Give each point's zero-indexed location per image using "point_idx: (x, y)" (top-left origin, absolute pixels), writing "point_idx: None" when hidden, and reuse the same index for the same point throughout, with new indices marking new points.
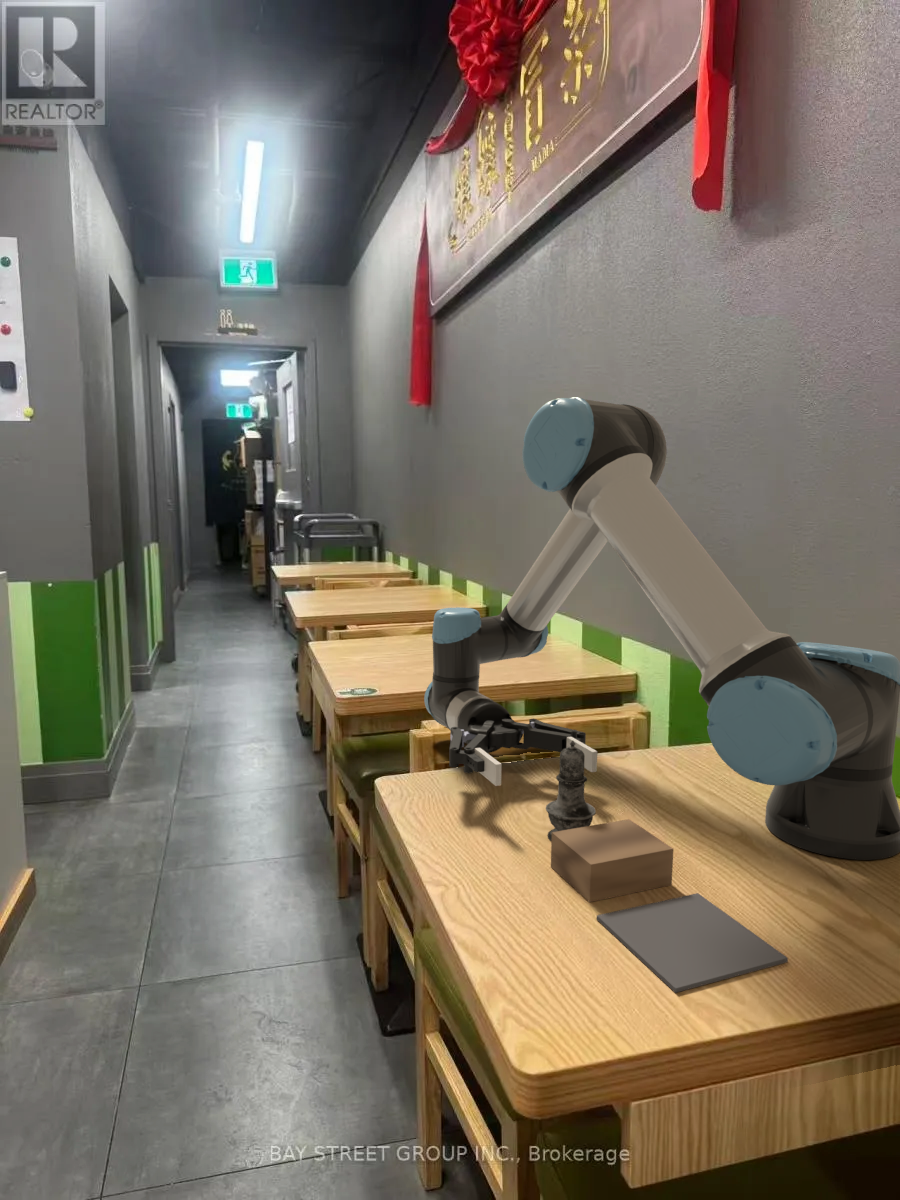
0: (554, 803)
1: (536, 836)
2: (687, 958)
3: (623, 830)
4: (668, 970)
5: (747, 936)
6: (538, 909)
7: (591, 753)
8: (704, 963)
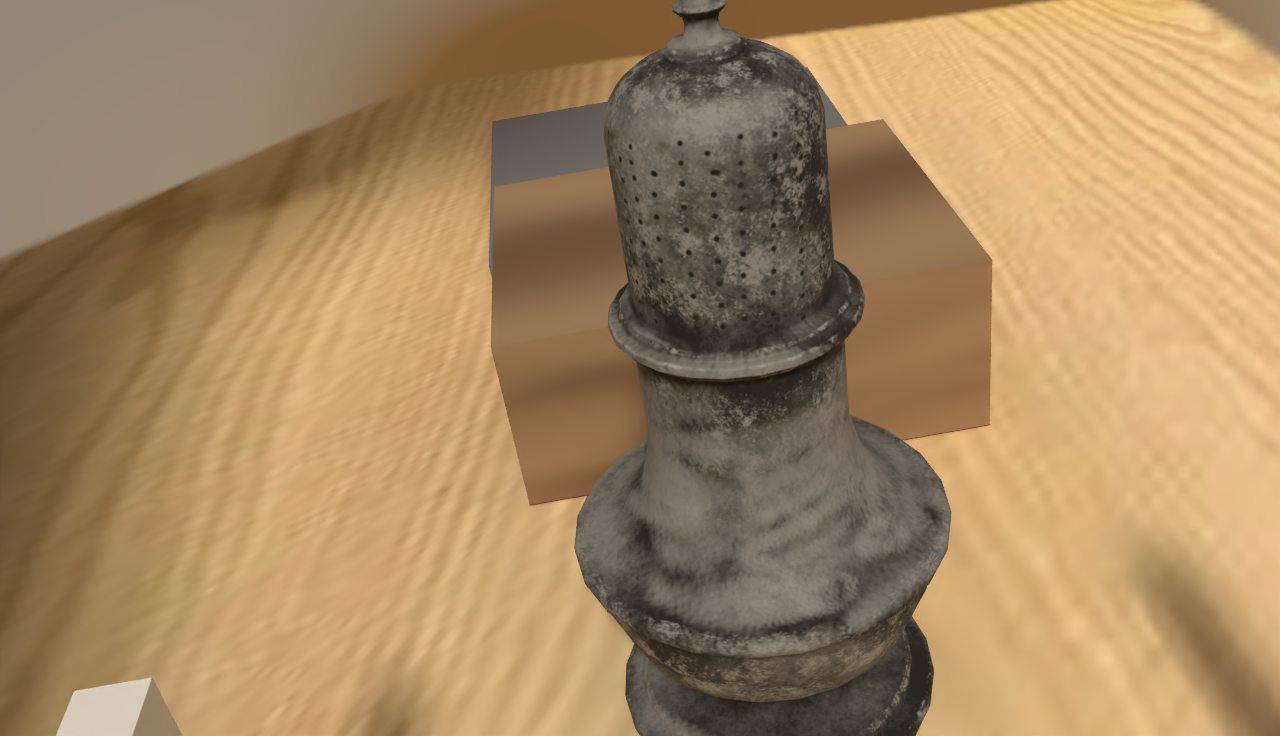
0: (877, 502)
1: (1014, 710)
2: None
3: (600, 273)
4: None
5: (517, 157)
6: (1094, 236)
7: (156, 709)
8: None
